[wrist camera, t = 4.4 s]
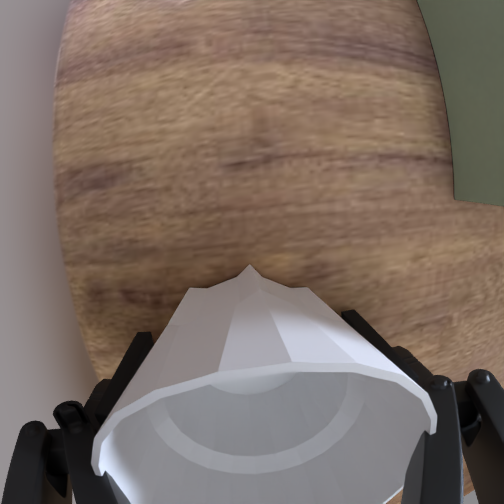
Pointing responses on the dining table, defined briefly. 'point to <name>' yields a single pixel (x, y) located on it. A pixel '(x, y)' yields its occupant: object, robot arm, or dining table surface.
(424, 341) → the dining table surface
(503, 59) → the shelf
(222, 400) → the cup
